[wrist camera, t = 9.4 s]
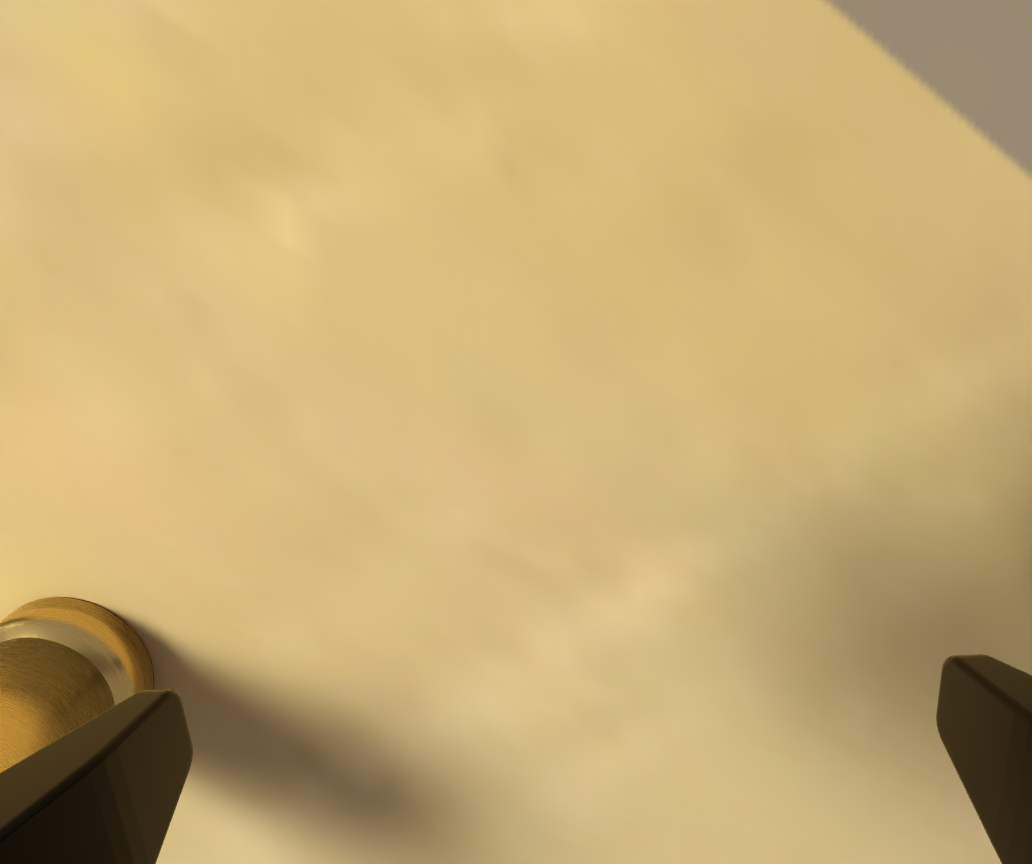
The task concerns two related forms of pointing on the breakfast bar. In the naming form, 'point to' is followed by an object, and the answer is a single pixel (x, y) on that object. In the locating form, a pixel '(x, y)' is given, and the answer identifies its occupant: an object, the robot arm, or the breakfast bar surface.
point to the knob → (63, 671)
